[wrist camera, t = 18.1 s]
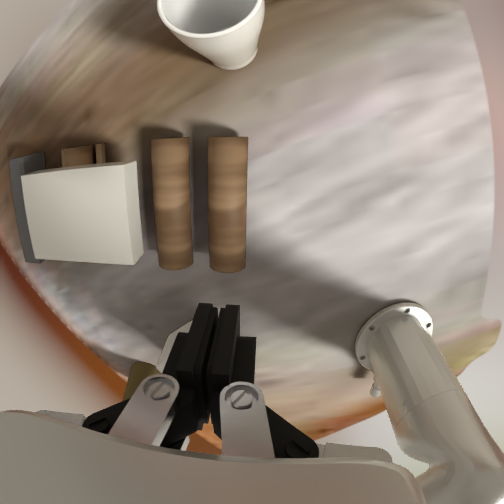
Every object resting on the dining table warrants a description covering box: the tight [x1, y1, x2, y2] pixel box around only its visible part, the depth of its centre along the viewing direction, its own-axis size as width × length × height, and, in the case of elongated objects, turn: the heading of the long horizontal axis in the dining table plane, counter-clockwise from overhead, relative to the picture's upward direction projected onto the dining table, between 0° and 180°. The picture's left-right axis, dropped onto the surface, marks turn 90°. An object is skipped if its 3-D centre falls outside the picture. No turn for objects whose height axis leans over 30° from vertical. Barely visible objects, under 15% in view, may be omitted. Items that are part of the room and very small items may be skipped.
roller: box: [64, 145, 93, 263], centre depth 32 cm, size 14×4×4 cm, turn 179°
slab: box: [21, 161, 144, 265], centre depth 28 cm, size 10×14×3 cm
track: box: [61, 136, 248, 273], centre depth 32 cm, size 14×23×4 cm, turn 89°
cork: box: [123, 362, 162, 401], centre depth 40 cm, size 6×6×11 cm
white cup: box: [157, 0, 265, 70], centre depth 20 cm, size 7×7×15 cm
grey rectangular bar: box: [9, 152, 46, 263], centre depth 32 cm, size 14×3×4 cm, turn 179°
